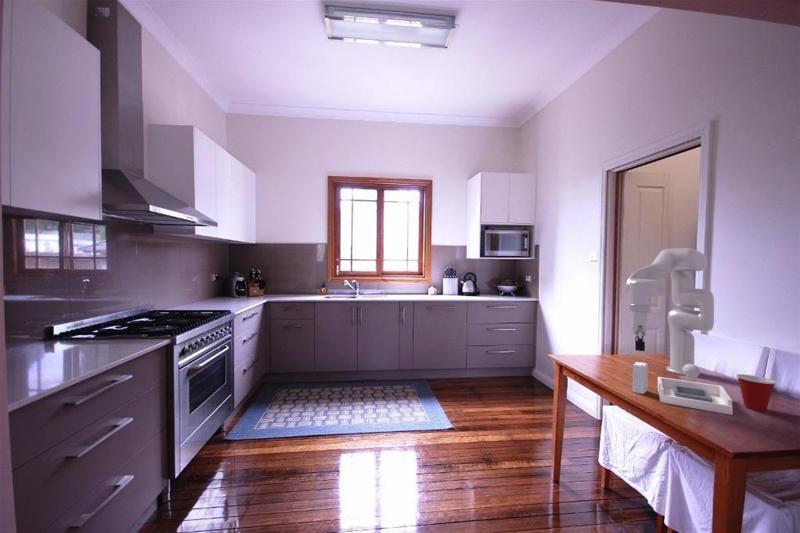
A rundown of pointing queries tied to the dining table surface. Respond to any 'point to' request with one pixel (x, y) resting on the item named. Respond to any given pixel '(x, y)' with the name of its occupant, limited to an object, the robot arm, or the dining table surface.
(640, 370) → the skincare box
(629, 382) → the dining table surface
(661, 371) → the dining table surface
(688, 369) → the light bulb
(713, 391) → the walled box
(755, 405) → the plastic cup
